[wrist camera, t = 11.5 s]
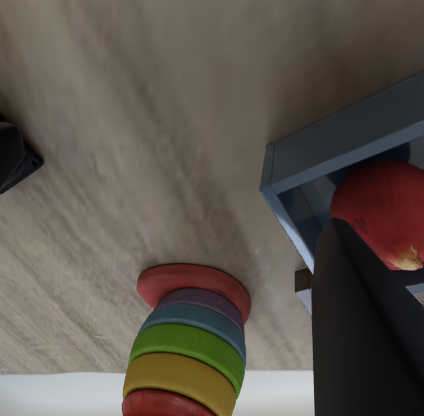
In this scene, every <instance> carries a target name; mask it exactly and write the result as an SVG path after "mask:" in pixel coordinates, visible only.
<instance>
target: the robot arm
mask: <svg viewBox="0 0 424 416" xmlns="http://www.w3.org/2000/svg"><path fill="white" fill-rule="evenodd" d="M35 161H36V162H37V163H36V162H35ZM42 166H43V160H42V159H41V158H40V157H39V155H38V154H37V153H36V152H35V151H34V150H33V149H32V148H31V147H30V146H29V145H28V144H27V143H26V141H25V140H24V139H23V138H22V134H21V130H20V128H19V127H18V126H16V125H13V124H10V123H8V122H7V121H6V120H5V119H4V118H3V117H2V116H1V115H0V194H3V193H4V192H6V191H7V190H9V189H10V188H11V187H13V186H14V185H16V184H17V183H19V182H20V181H22V180H23V179H25V178H26V177H27V176H29V175H30V174H32V173H33V172H35V171H36V170H38V169H39V168H40V167H42ZM311 305H312V339H313V372H314V404H315V416H424V307H423V306H422V305H421V304H420V302H419V301H418V300H417V299H416V298H415V297H414V296H413V295H412V294H411V292H410V291H409V290H408V289H407V288H406V287H405V286H404V285H403V283H402V282H401V281H400V280H399V279H398V278H397V277H396V276H395V275H394V273H393V272H392V271H391V270H390V269H389V268H388V267H387V266H386V264H385V263H384V262H383V261H382V260H381V259H380V258H379V257H378V256H377V254H376V253H375V252H374V251H373V250H372V249H371V248H370V247H369V245H368V244H367V243H366V242H365V241H364V240H363V239H362V238H361V237H360V235H359V234H358V233H357V232H356V231H355V230H354V229H353V228H352V226H351V225H350V224H349V223H348V222H347V221H346V220H343V219H339V218H336V217H331V218H330V219H329V220H328V221H327V223H326V225H325V227H324V228H323V230H322V232H321V234H320V236H319V238H318V240H317V243H316V249H315V259H314V269H313V279H312V291H311Z"/></svg>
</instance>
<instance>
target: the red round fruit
mask: <svg viewBox="0 0 424 416" xmlns="http://www.w3.org/2000/svg"><path fill="white" fill-rule="evenodd" d="M329 216H330V218H331V217H336V218H339V219H343V220H346V221H347V222H348V223H349V224H350V225H351V226H352V228H353V229H354V230H355V231H356V232H357V233H358V234H359V235H360V237H361V238H362V239H363V240H364V241H365V242H366V243H367V244H368V245H369V247H370V248H371V249H372V250H373V251H374V252H375V253H376V254H377V256H378V257H379V258H380V259H381V260H382V261H383V262H384V263H385V264H386V266H387V267H388V268H389V269H390V270H402V269H403V270H416V269H418V268H423V265H424V264H423V262H424V170H423V169H420V168H418V167H416V166H414V165H412V164H410V163H408V162H398V161H388V160H384V161H380V162H375V163H370V164H365V165H363V166H361V167H359V168H358V169H356V170H354V171H352V172H351V173H349V174H348V175H347V176H346V177H345V178H344V180H343V181H342V182H341V183H340V184H339V186H338V187H337V188H336V189H335V191H334V194H333V198H332V201H331V204H330V212H329Z"/></svg>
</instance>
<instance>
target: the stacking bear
mask: <svg viewBox="0 0 424 416" xmlns="http://www.w3.org/2000/svg"><path fill="white" fill-rule="evenodd" d="M137 292H138V294H139V295H140V296H141V297H142V298H143V300H144V301H145V302H147V303H148V304H149V305H150V306H151V307H153V308H154V310H153V312H152V313H151V314H150V315H149V316H148V318H147V319H146V321H145V322H144V324H143V325H142V327H141V329H140V330H139V332H138V335H137V337H136V339H135V341H134V343H133V347H132V350H131V353H130V357H129V361H128V369H127V372H126V376H125V382H124V387H123V402H122V413H123V416H231V415H232V413H233V410H234V406H235V403H236V400H237V398H238V396H239V393H240V390H241V387H242V383H243V379H244V374H245V366H246V347H245V336H244V324H245V323H246V321H247V319H248V316H249V313H250V309H251V303H250V298H249V296H248V294H247V292H246V290H245V289H244V288H243V287H242V286H241V284H240V283H238V282H237V281H236V280H235V279H233V278H232V277H231V276H229V275H227V274H225V273H223V272H221V271H218V270H215V269H212V268H208V267H203V266H196V265H183V264H177V265H164V266H159V267H155V268H152V269H149V270H146V271H144V272H143V273H141V274H140V276H139V278H138V285H137Z"/></svg>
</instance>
